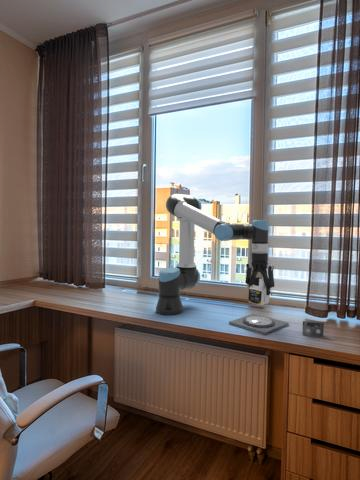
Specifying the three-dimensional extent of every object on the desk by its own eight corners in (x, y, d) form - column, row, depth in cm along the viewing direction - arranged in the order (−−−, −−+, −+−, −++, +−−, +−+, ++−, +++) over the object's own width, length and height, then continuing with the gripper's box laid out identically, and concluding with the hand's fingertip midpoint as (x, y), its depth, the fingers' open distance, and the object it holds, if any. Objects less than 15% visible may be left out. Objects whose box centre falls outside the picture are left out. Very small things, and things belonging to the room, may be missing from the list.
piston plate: (229, 324, 150) (229, 319, 150) (253, 315, 164) (253, 311, 163) (265, 335, 135) (265, 330, 135) (288, 325, 149) (288, 320, 149)
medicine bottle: (247, 302, 149) (249, 277, 148) (256, 299, 154) (257, 276, 153) (260, 305, 144) (262, 280, 143) (269, 303, 149) (270, 278, 148)
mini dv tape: (322, 335, 135) (323, 322, 135) (323, 337, 133) (323, 323, 133) (302, 334, 137) (302, 320, 137) (302, 335, 136) (303, 321, 135)
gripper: (237, 251, 153) (237, 297, 154) (274, 254, 138) (273, 305, 139) (246, 250, 158) (246, 295, 159) (283, 253, 143) (282, 302, 144)
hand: (259, 300), depth 149 cm, fingers closed on medicine bottle, 7 cm apart
